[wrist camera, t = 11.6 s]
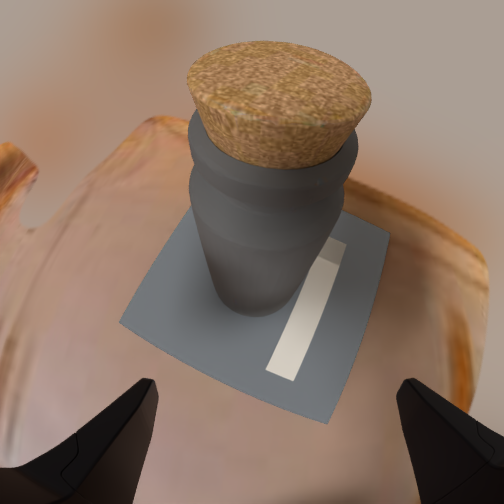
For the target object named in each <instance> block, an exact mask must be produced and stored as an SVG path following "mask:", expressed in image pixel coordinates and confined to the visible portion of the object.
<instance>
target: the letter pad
mask: <svg viewBox="0 0 504 504" xmlns="http://www.w3.org/2000/svg"><path fill="white" fill-rule="evenodd" d="M389 237H390V233H389V232H387V231H385V230H383V229H381V228H379V227H377V226H375V225H373V224H371V223H368V222H366V221H364V220H362V219H360V218H358V217H356V216H354V215H351V214H349V213H347V212H345V211H343V210H341V214H340V216H339V218H338V220H337V222H336V224H335V226H334V228H333V230H332V232H331V233H330V235H329V237H328V239H327V241H326V243H325V244H324V246H323V248H322V250H321V251H320V253H319V255H318V256H317V258H316V260H315V261H314V263H313V265H312V266H311V268H310V269H309V271H308V273H307V274H306V276H305V278H304V279H303V281H302V282H301V284H300V285H299V287H298V289H297V290H296V291H295V293H294V294H293V296H292V297H291V299H290V300H289V302H288V303H287V304H286V305H285V306H284V307H282V308H281V309H280V310H278V311H277V312H275V313H273V314H270V315H267V316H264V317H248V316H243V315H240V314H238V313H236V312H234V311H232V310H231V309H229V308H228V307H227V306H226V305H225V304H224V303H223V302H222V300H221V299H220V298H219V296H218V294H217V292H216V290H215V287H214V284H213V282H212V278H211V275H210V272H209V268H208V265H207V262H206V258H205V255H204V251H203V248H202V244H201V241H200V237H199V233H198V230H197V226H196V222H195V218H194V214H193V210H192V205H191V207H190V208H189V210H188V211H187V212H186V214H185V215H184V217H183V218H182V220H181V221H180V223H179V224H178V226H177V227H176V229H175V230H174V232H173V233H172V235H171V236H170V238H169V239H168V241H167V242H166V244H165V246H164V247H163V249H162V250H161V252H160V253H159V255H158V256H157V258H156V260H155V261H154V263H153V264H152V266H151V268H150V269H149V271H148V273H147V274H146V276H145V278H144V279H143V281H142V283H141V284H140V286H139V288H138V289H137V291H136V293H135V294H134V296H133V298H132V300H131V301H130V303H129V305H128V307H127V308H126V310H125V312H124V314H123V315H122V317H121V319H120V321H119V323H120V324H122V325H123V326H125V327H126V328H128V329H129V330H131V331H132V332H134V333H135V334H137V335H138V336H140V337H141V338H143V339H145V340H146V341H148V342H149V343H151V344H153V345H154V346H156V347H158V348H159V349H161V350H163V351H164V352H166V353H168V354H169V355H171V356H173V357H175V358H176V359H178V360H180V361H182V362H184V363H185V364H187V365H189V366H191V367H193V368H195V369H196V370H198V371H200V372H202V373H204V374H206V375H208V376H210V377H212V378H214V379H216V380H218V381H220V382H222V383H224V384H226V385H228V386H230V387H233V388H235V389H237V390H239V391H241V392H243V393H246V394H248V395H250V396H253V397H255V398H257V399H260V400H262V401H264V402H267V403H269V404H272V405H274V406H277V407H279V408H282V409H284V410H287V411H290V412H292V413H295V414H298V415H301V416H303V417H306V418H309V419H312V420H315V421H318V422H321V423H324V424H328V422H329V420H330V418H331V416H332V413H333V411H334V409H335V407H336V405H337V402H338V400H339V398H340V395H341V393H342V391H343V388H344V386H345V384H346V381H347V379H348V376H349V374H350V371H351V369H352V366H353V363H354V361H355V358H356V355H357V352H358V350H359V347H360V344H361V341H362V338H363V335H364V332H365V329H366V326H367V323H368V320H369V317H370V313H371V310H372V307H373V303H374V300H375V296H376V292H377V289H378V285H379V281H380V277H381V273H382V269H383V265H384V261H385V256H386V252H387V247H388V242H389Z"/></svg>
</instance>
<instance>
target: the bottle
mask: <svg viewBox="0 0 504 504" xmlns="http://www.w3.org/2000/svg"><path fill="white" fill-rule="evenodd" d="M187 85H188V87H189V90H190V93H191V95H192V98H193V100H194V103H195V105H196V107H197V109H196V111H195V112H194V114H193V115H192V118H191V120H190V123H189V127H188V139H189V145H190V150H191V156H192V158H193V161H194V164H195V165H194V166H193V169H192V171H191V175H190V181H189V194H190V200H191V205H192V210H193V214H194V218H195V222H196V226H197V230H198V233H199V237H200V241H201V244H202V248H203V251H204V255H205V258H206V262H207V265H208V268H209V272H210V275H211V278H212V282H213V284H214V287H215V290H216V292H217V294H218V296H219V298H220V299H221V300H222V302H223V303H224V304H225V305H226V306H227V307H228V308H229V309H231V310H232V311H234V312H236V313H238V314H240V315H243V316H248V317H264V316H267V315H270V314H273V313H275V312H277V311H278V310H280V309H281V308H282V307H284V306H285V305H286V304H287V303H288V302H289V300H290V299H291V297H292V296H293V294H294V293H295V291H296V290H297V289H298V287H299V285H300V284H301V282H302V281H303V279H304V278H305V276H306V274H307V273H308V271H309V269H310V268H311V266H312V265H313V263H314V261H315V260H316V258H317V256H318V255H319V253H320V251H321V250H322V248H323V246H324V244H325V243H326V241H327V239H328V237H329V235H330V233H331V232H332V230H333V228H334V226H335V224H336V222H337V220H338V218H339V216H340V214H341V210H342V207H343V203H344V188H343V183H344V182H345V180H346V179H347V178H348V176H349V174H350V172H351V170H352V168H353V165H354V164H355V160H356V157H357V153H358V139H357V134H356V132H355V127H356V126H357V125H358V123H359V122H360V120H361V119H362V118H363V117H364V115H365V114H366V112H367V111H368V109H369V107H370V105H371V92H370V89H369V87H368V85H367V83H366V82H365V80H364V79H363V78H362V77H361V76H360V75H359V74H358V73H357V72H356V71H355V70H354V69H352V68H351V67H350V66H349V65H347V64H346V63H344V62H342V61H340V60H339V59H337V58H335V57H333V56H331V55H329V54H327V53H324V52H322V51H319V50H316V49H313V48H310V47H306V46H302V45H296V44H292V43H286V42H273V41H252V42H243V43H236V44H232V45H228V46H224V47H220V48H218V49H215V50H213V51H211V52H209V53H207V54H205V55H203V56H202V57H201V58H199V59H198V60H197V61H196V62H194V64H193V65H192V66H191V68H190V70H189V72H188V75H187Z"/></svg>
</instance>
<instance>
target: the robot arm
mask: <svg viewBox="0 0 504 504" xmlns="http://www.w3.org/2000/svg"><path fill="white" fill-rule="evenodd" d="M158 398H159V396H158V391H157V388H156V384H155V381H154V380H153V379H148V378H142V379H140V380H139V381H138V382H137V383H136V384H134V385H133V386H132V387H131V388H130V389H128V390H127V391H126V392H125V393H124V394H122V395H121V396H120V397H119V398H117V399H116V400H115V401H114V402H113V403H111V404H110V405H109V406H108V407H106V408H105V409H104V410H103V411H101V412H100V413H99V414H98V415H96V416H95V417H94V418H93V419H91V420H90V421H89V422H88V423H86V424H85V425H84V426H83V427H81V428H80V429H79V430H78V431H77V432H76V433H74V434H72V435H71V436H70V437H69V438H67V439H66V440H64V441H63V442H62V443H60V444H59V445H57V446H56V447H54V448H53V449H51V450H49V451H48V452H46V453H44V454H43V455H41V456H39V457H37V458H35V459H34V460H32V461H30V462H28V463H26V464H24V465H22V466H19V467H14V468H0V504H132V503H133V500H134V496H135V492H136V489H137V485H138V482H139V478H140V475H141V471H142V468H143V464H144V461H145V457H146V454H147V451H148V447H149V444H150V441H151V437H152V433H153V427H154V421H155V416H156V410H157V405H158ZM396 400H397V404H398V409H399V414H400V420H401V425H402V430H403V433H404V437H405V440H406V444H407V447H408V451H409V455H410V458H411V462H412V466H413V470H414V474H415V478H416V482H417V486H418V491H419V495H420V500H421V504H504V437H503V436H501V435H500V434H498V433H496V432H494V431H492V430H491V429H489V428H487V427H486V426H484V425H483V424H481V423H480V422H478V421H476V420H475V419H474V418H472V417H471V416H469V415H468V414H466V413H465V412H463V411H462V410H461V409H459V408H458V407H456V406H455V405H453V404H452V403H450V402H449V401H447V400H446V399H444V398H443V397H442V396H440V395H439V394H437V393H436V392H434V391H433V390H431V389H430V388H428V387H427V386H426V385H424V384H423V383H421V382H420V381H418V380H417V379H415V378H409V379H405V380H404V381H403V383H402V385H401V387H400V389H399V390H398V392H397V395H396Z"/></svg>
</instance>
